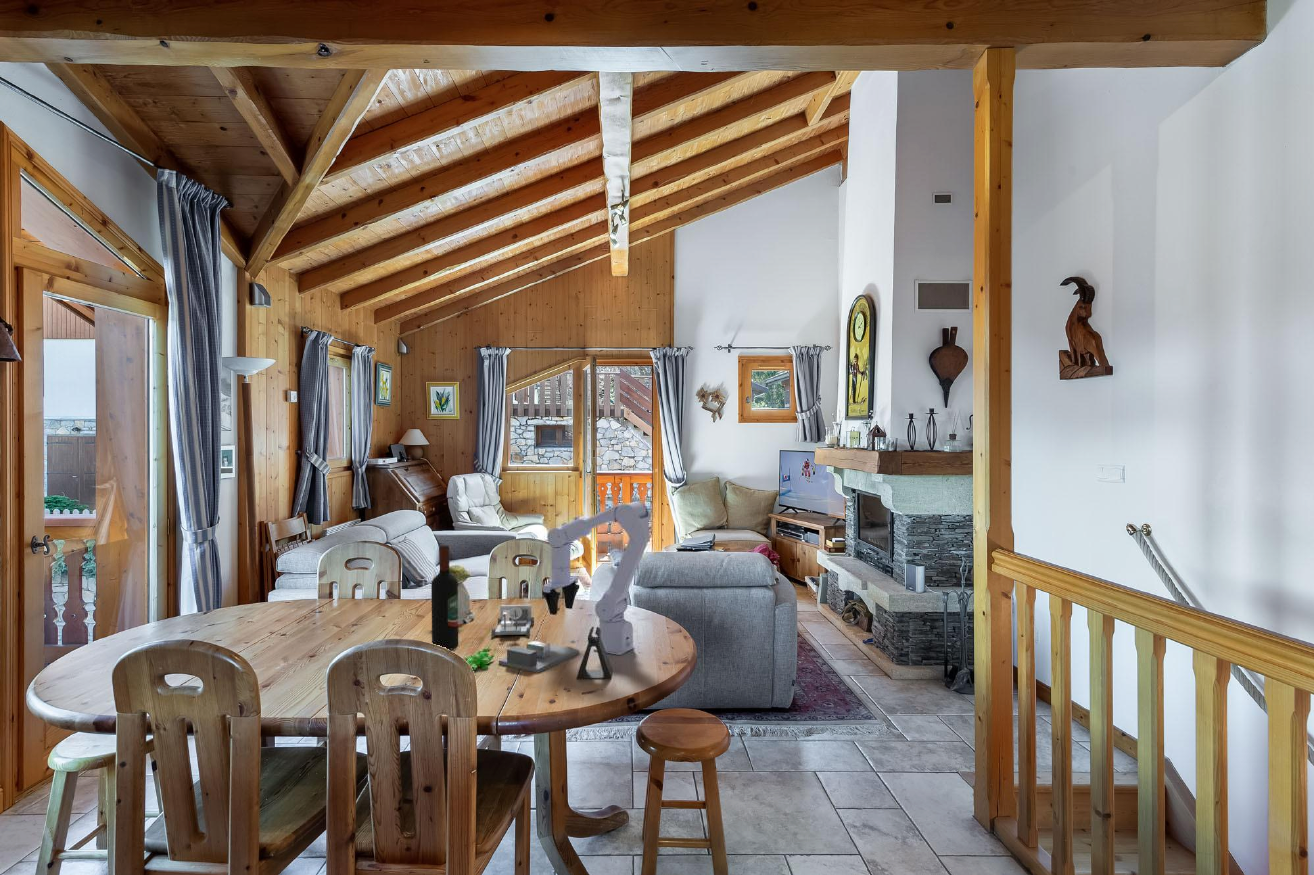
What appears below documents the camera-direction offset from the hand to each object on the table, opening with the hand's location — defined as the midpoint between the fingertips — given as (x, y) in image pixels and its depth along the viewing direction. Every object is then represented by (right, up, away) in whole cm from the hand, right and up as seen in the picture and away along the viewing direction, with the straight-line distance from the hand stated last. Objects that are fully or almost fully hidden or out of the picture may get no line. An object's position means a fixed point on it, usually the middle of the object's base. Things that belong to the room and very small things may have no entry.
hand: (561, 611), depth 210 cm
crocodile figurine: (-21, -10, -23) cm, 33 cm away
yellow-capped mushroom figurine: (-40, -10, +25) cm, 48 cm away
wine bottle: (-34, -10, -3) cm, 36 cm away
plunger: (-6, -8, -15) cm, 18 cm away
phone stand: (+13, -10, -28) cm, 32 cm away
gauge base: (-4, -10, -15) cm, 18 cm away
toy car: (-17, -10, +11) cm, 23 cm away
